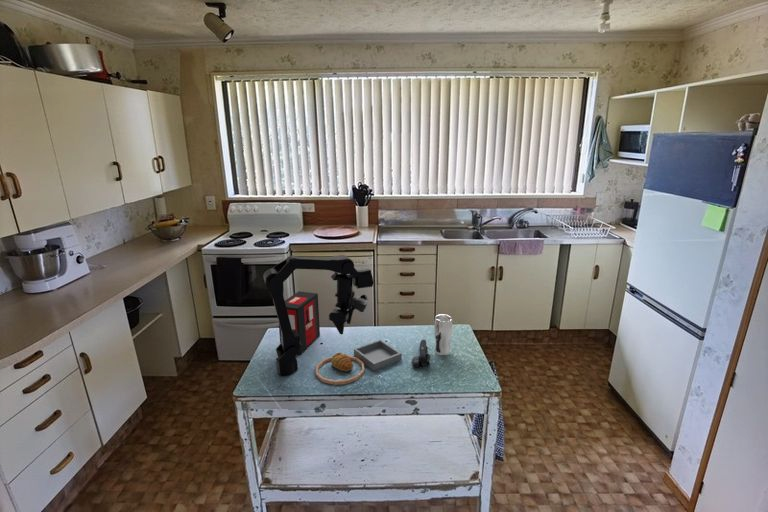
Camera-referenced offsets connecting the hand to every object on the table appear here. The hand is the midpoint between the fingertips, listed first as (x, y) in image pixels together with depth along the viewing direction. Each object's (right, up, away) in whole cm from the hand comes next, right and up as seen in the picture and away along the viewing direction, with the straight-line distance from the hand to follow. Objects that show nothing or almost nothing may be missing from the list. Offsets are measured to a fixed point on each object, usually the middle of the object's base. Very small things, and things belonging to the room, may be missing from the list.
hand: (345, 328), depth 147 cm
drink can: (+38, -11, +8) cm, 40 cm away
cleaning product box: (-20, -9, +15) cm, 27 cm away
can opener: (+30, -12, +4) cm, 32 cm away
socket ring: (-1, -14, -4) cm, 15 cm away
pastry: (-1, -15, -5) cm, 16 cm away
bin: (+12, -12, +4) cm, 18 cm away
